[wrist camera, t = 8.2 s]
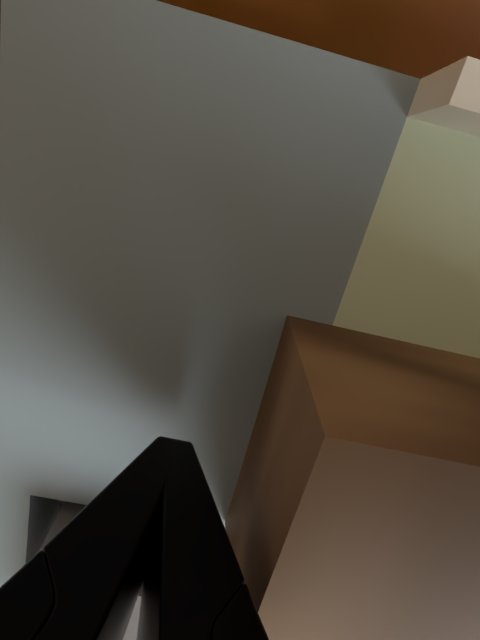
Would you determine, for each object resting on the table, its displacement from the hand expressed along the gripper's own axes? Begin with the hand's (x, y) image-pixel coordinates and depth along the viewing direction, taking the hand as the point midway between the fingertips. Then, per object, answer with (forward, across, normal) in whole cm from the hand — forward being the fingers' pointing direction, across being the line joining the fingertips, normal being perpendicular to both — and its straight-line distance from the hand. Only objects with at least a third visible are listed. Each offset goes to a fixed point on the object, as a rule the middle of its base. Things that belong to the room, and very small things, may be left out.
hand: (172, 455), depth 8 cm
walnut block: (+1, -5, 0) cm, 5 cm away
